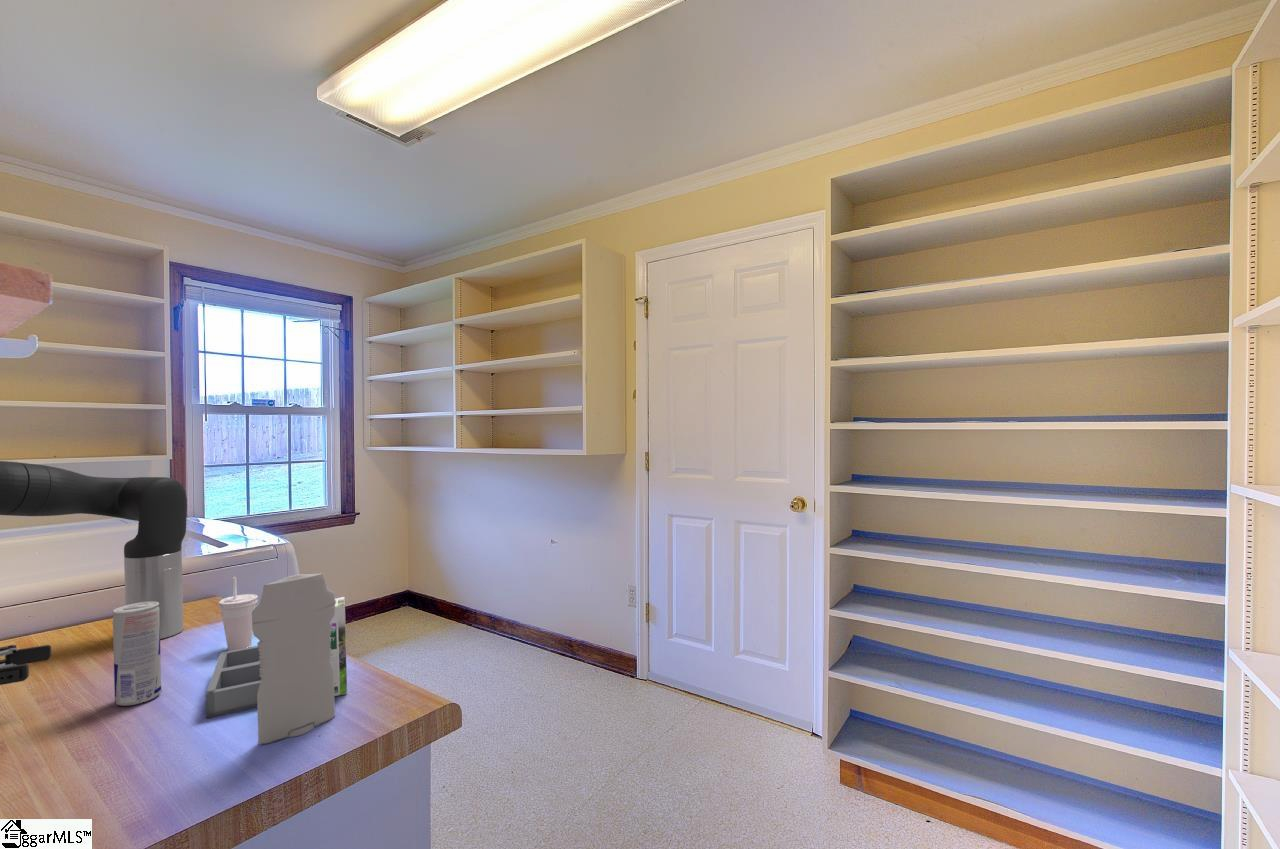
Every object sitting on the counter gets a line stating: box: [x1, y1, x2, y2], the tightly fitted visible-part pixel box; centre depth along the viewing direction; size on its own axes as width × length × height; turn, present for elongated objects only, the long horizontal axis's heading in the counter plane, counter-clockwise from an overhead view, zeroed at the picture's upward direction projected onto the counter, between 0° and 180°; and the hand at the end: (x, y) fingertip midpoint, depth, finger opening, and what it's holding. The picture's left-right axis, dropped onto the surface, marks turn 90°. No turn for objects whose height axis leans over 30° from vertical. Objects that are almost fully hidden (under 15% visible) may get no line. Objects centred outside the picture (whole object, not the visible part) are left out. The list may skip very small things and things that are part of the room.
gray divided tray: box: [205, 645, 261, 719], centre depth 95 cm, size 18×10×4 cm, turn 31°
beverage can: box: [112, 602, 162, 707], centre depth 91 cm, size 6×6×15 cm
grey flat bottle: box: [252, 572, 336, 746], centre depth 81 cm, size 11×4×22 cm, turn 139°
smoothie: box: [218, 576, 259, 651], centre depth 112 cm, size 6×6×14 cm
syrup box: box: [330, 596, 348, 697], centre depth 93 cm, size 6×6×14 cm
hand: (39, 661), depth 85 cm, fingers open, 8 cm apart
